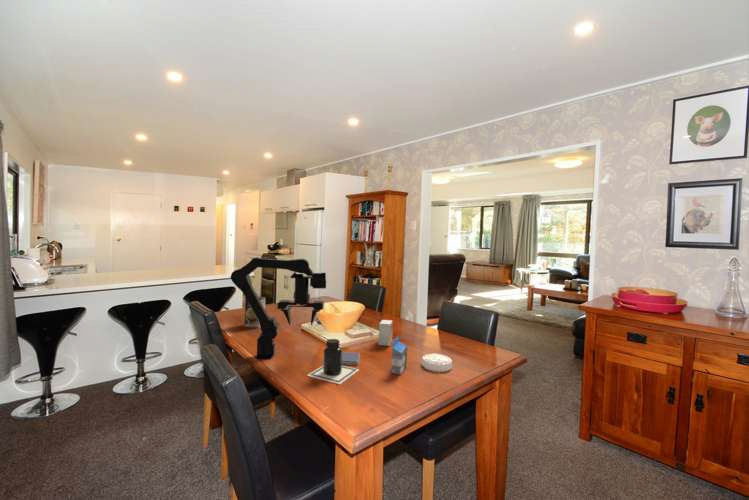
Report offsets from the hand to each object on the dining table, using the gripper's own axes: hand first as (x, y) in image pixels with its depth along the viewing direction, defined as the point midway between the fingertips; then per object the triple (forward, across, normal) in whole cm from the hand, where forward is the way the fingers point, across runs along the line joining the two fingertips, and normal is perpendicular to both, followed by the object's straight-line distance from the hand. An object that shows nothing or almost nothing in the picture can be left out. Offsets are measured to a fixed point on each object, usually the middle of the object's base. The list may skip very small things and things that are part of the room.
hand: (300, 324), depth 139 cm
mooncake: (+14, -57, +9) cm, 59 cm away
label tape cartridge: (+13, -41, +14) cm, 45 cm away
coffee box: (+13, +33, -43) cm, 56 cm away
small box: (+13, -38, -18) cm, 44 cm away
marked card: (+13, -16, +18) cm, 27 cm away
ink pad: (+13, -20, +4) cm, 24 cm away
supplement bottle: (+13, -15, +18) cm, 27 cm away
